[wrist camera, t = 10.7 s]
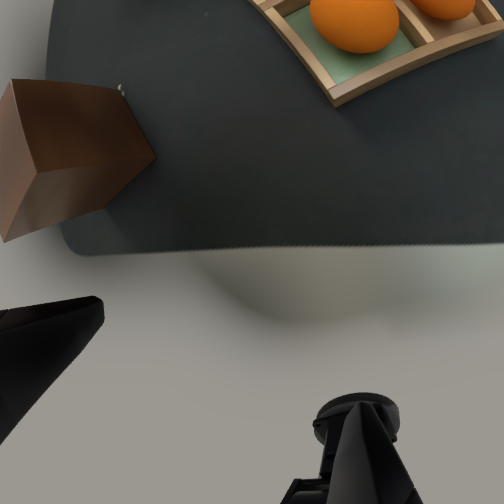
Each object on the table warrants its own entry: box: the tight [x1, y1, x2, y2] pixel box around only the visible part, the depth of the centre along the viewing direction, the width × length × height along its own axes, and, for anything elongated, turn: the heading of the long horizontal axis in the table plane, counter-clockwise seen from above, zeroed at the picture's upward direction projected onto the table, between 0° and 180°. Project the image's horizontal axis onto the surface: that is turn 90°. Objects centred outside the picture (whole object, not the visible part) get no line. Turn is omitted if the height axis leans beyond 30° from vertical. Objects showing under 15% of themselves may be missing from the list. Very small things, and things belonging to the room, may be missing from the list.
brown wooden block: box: [0, 79, 156, 243], centre depth 15 cm, size 7×7×10 cm
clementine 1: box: [310, 0, 399, 53], centre depth 10 cm, size 5×5×5 cm
